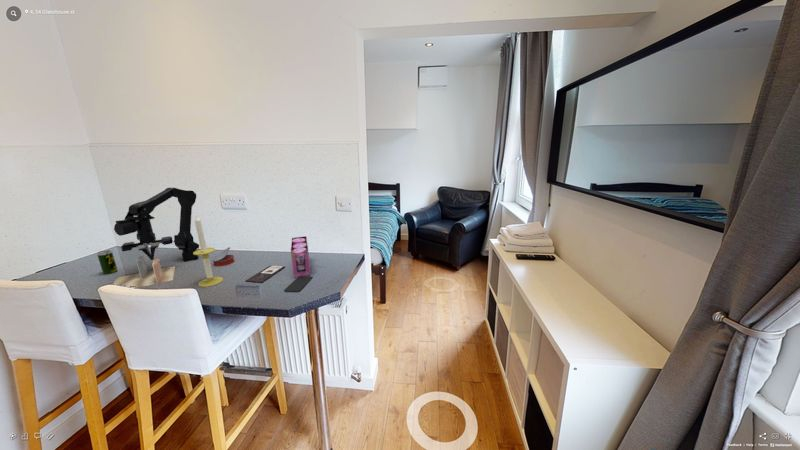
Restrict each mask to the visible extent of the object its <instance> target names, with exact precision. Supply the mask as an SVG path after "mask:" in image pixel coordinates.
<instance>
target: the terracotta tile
mask: <svg viewBox="0 0 800 450" xmlns="http://www.w3.org/2000/svg"><path fill="white" fill-rule="evenodd" d="M151 265H152V269H153V270H154V273H155V277H156V281H157V284H159V283H158V282H162V279H163V272H162V269H163V268H162V266H161V262H160V259H159V258H154V259H153V262H152V264H151ZM153 270H152V271H153ZM162 283H163V282H162Z"/></svg>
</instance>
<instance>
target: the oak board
mask: <svg viewBox="0 0 800 450" xmlns="http://www.w3.org/2000/svg"><path fill="white" fill-rule="evenodd" d="M175 269H176V266H169V267H164V268H162V272H163V279H162V282H158V283H157V281H156V277H155V273H154V270H148V274H147V276H146V278H141V276H140V273H139V272H138V273H134V274H128V275H123V276H119V277H116V279H115V280H114V282H113V283H112V285H113V284H114V285H120V286H124V285H126V286H125V287H130V286H136V287H131V288H134V289H138V288H141V287H140V286H143V287H147V286H151V285H156V284H161V283H166V282H170V281H174V275H175ZM122 283H125V284H122Z"/></svg>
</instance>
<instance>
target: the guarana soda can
mask: <svg viewBox="0 0 800 450" xmlns="http://www.w3.org/2000/svg"><path fill="white" fill-rule="evenodd" d="M113 253H114V252H113V251H112V249H107V250H100V251H99V252H97V254H96V255H97V260H98V261H99V265H100V268H101V271H102V275H104V276H110V275H114V274H116V273H118V271H119V269H118V266H117V263H116V259H115V256H114V254H113Z"/></svg>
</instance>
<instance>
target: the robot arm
mask: <svg viewBox="0 0 800 450" xmlns="http://www.w3.org/2000/svg"><path fill="white" fill-rule="evenodd" d="M173 197H174V198H177V202H178V203H179V206H180V215H179V229H178V230H179V232H178V234H174V236H173V237H172V236H171V235H170V236H162V237H161V239H157V237H156V234H155V233H154V230H153V227H152V222H151V220H154V219H155V217H154V216H153V215H150V214H151V213H152V212H153V211H154V210H155V208H156V207H158V206H159V205H161V204H163V203H164V202H166V201H168V200H169V199H171V198H173ZM196 200H197V193H196V192H195V191H194V190H185V189H182V188H181V189H179V188H177V187H167V188H165V189H164V190H162V191H161V192H159V193H157V194H155V195H154V196H151V197H150V198H148V199H145V200H142V201H139V202H136V203H133V204H131V205H130V206H128V211H127V213H126V215H125V217H124V219H121V220H120V219H119V220H116V221H115V224H114V227H113V230H114V232H115V234H117V235H118V236H120V237H122V236H126V235H130V234H134V233H136V239H137V240H138V241H139V242H134V241H130V242H124V243H123V244H122V245H121V248H120V249H121V252H128V251H129V252H130V251H132V250H133V249H134V248H138V251H141V252H143V253H144V254H145V255H146V257H148V258H149V259H150V260H151V261H154V260H155V252H156V249H158V248H159V247H160V244H161V245H163V246H164V245H165V246H166V245H171V244H173V243H174V246H175V247H176V248H177V249H178V250H179V251H181V257H182V261H184V263H186V261H187V262H192V261H197V259H198V260H199V255H194V254H193V252H195V251H197V250H199V247H200V243H197V242H196V241H194V236H193V235H192V232H191V229H192V226H191V225H192V214H193V213H192V211H193V210H192V208H193V206H194V204H195V203H196ZM173 239H174V240H173ZM149 246H150V247H149ZM149 248H150V249H149Z"/></svg>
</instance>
